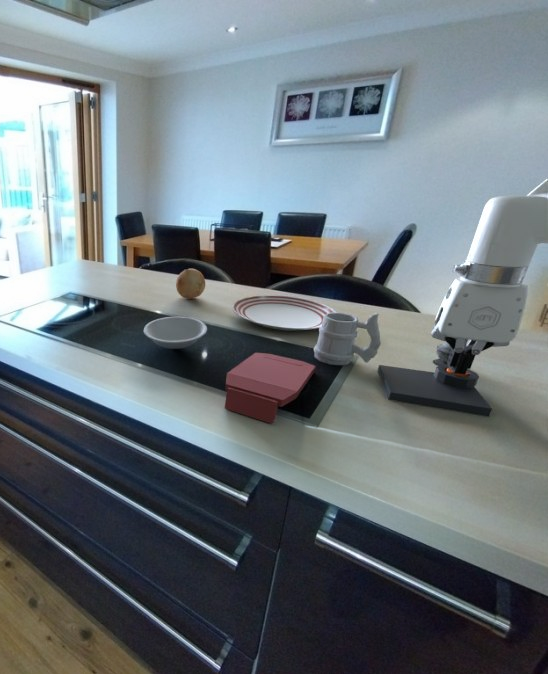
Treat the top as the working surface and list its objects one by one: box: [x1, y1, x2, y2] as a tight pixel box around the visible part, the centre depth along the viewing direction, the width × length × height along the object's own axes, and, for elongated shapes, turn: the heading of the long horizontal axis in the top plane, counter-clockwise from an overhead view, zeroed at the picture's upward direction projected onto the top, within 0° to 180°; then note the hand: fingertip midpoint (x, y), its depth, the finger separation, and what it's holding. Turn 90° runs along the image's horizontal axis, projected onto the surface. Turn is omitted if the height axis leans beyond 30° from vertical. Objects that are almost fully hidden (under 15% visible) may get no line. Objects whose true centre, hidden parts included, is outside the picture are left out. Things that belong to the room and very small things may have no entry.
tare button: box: [446, 368, 468, 376], centre depth 73 cm, size 3×3×2 cm
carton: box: [224, 352, 316, 424], centre depth 76 cm, size 12×5×25 cm
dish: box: [143, 316, 208, 350], centre depth 94 cm, size 18×14×5 cm
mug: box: [313, 312, 382, 366], centre depth 83 cm, size 8×12×12 cm, turn 47°
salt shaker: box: [432, 339, 469, 367], centre depth 80 cm, size 6×6×12 cm
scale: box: [376, 364, 493, 418], centre depth 72 cm, size 14×12×4 cm
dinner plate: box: [231, 294, 338, 332], centre depth 110 cm, size 27×27×3 cm
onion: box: [175, 268, 206, 300], centre depth 131 cm, size 10×10×10 cm
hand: (456, 370), depth 72 cm, fingers closed
